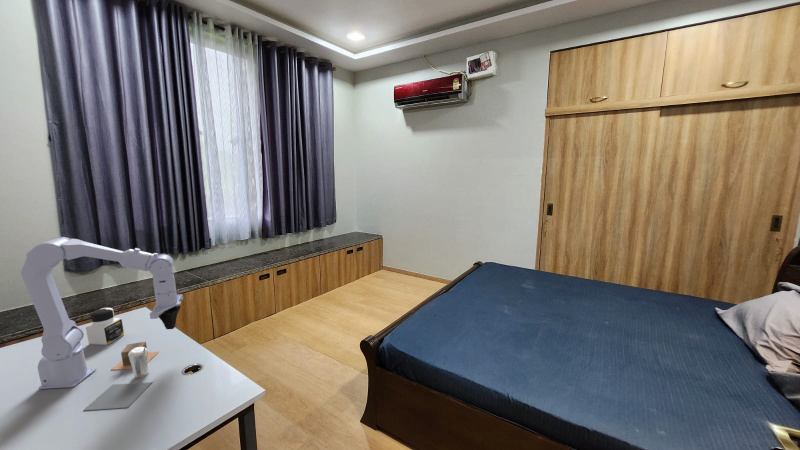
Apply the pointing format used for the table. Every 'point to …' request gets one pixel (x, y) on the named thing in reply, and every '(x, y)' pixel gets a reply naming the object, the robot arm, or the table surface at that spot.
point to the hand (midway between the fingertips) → (170, 328)
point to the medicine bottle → (104, 327)
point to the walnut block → (128, 349)
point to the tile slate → (118, 396)
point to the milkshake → (139, 361)
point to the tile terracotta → (121, 367)
